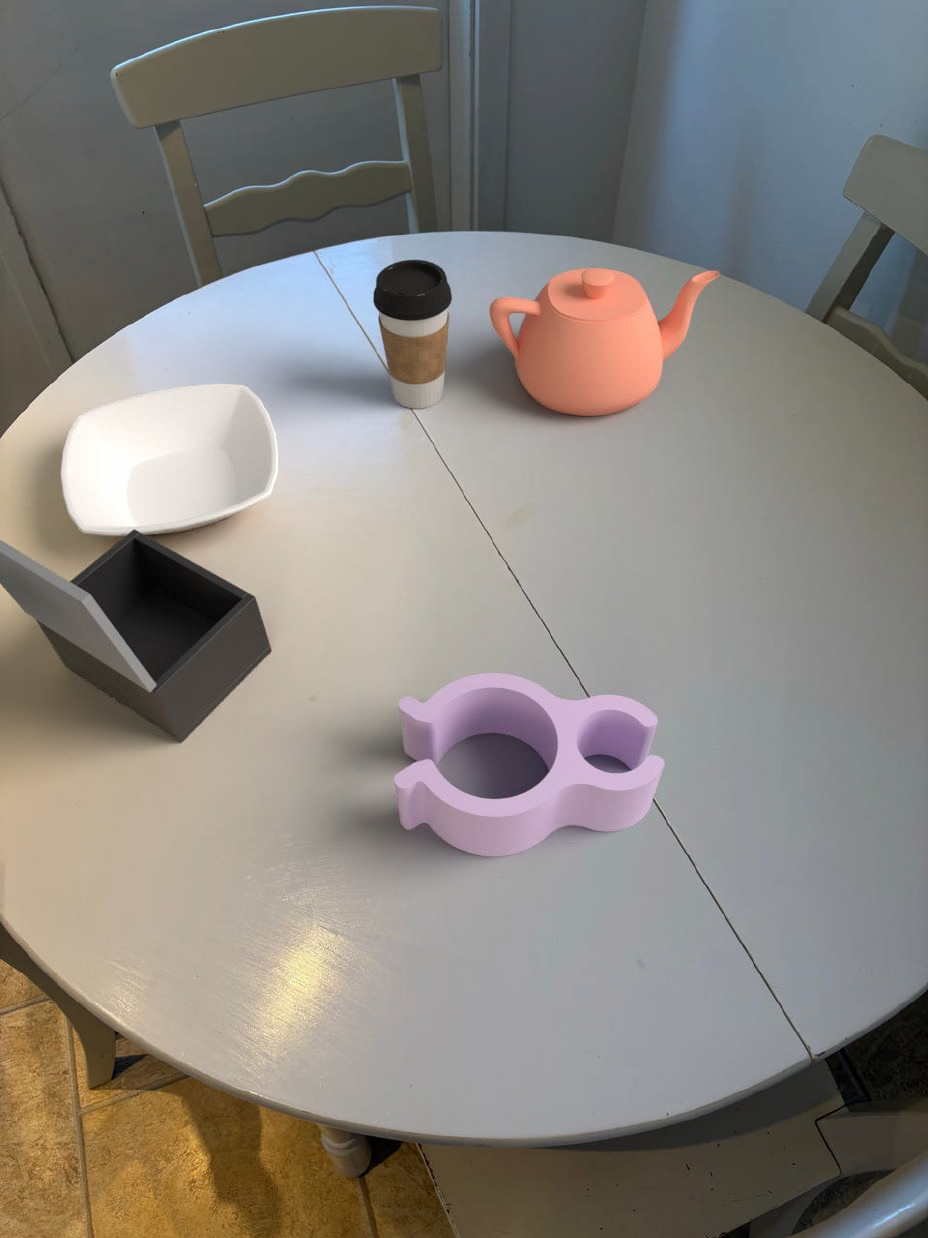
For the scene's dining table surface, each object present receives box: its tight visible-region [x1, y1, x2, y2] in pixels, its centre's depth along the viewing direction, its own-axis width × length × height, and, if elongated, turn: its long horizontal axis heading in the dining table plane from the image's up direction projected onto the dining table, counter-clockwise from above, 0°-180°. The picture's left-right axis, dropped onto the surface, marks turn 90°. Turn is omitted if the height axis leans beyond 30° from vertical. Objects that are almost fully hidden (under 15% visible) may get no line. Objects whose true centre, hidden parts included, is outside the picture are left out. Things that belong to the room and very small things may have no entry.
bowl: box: [59, 383, 280, 537], centre depth 92 cm, size 22×22×5 cm
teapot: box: [489, 267, 721, 417], centre depth 100 cm, size 25×17×13 cm
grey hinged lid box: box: [35, 529, 272, 744], centre depth 78 cm, size 12×15×8 cm
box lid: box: [0, 539, 157, 692], centre depth 66 cm, size 12×15×1 cm
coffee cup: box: [372, 259, 453, 410], centre depth 98 cm, size 8×8×15 cm
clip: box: [393, 672, 666, 858], centre depth 70 cm, size 20×12×7 cm, turn 90°
